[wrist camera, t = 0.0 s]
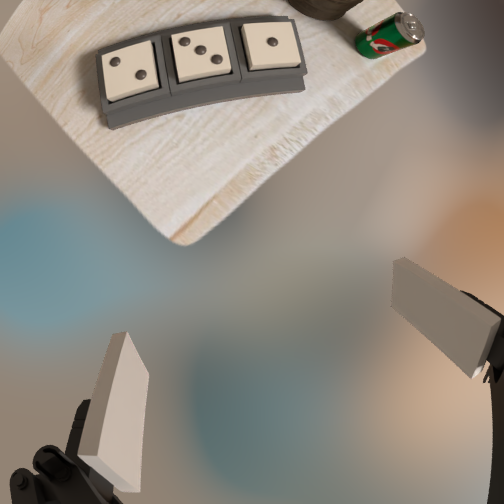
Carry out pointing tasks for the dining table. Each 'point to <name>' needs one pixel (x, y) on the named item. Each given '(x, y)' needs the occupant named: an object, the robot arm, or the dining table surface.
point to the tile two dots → (130, 71)
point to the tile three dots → (201, 54)
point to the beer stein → (324, 8)
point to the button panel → (201, 90)
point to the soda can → (390, 35)
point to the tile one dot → (270, 45)
